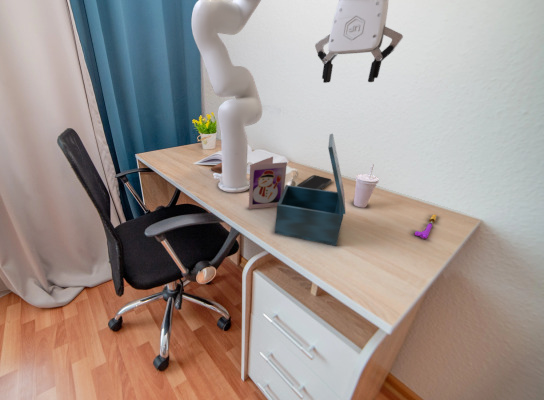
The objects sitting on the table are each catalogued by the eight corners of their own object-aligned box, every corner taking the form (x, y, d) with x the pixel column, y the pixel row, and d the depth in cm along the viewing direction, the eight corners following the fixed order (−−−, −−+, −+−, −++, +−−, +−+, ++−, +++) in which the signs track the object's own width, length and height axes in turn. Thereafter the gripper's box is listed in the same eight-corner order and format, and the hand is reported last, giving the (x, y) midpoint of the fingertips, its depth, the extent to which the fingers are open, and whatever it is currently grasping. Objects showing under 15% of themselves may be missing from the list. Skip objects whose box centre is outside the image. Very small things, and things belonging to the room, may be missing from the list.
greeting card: (249, 210, 77) (251, 165, 70) (244, 199, 84) (245, 158, 77) (283, 206, 79) (288, 163, 72) (275, 196, 85) (279, 155, 78)
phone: (296, 185, 90) (313, 174, 100) (295, 188, 91) (313, 177, 100) (316, 191, 85) (332, 179, 95) (315, 194, 86) (332, 181, 96)
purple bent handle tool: (426, 240, 61) (437, 217, 71) (427, 235, 61) (437, 213, 71) (413, 237, 63) (425, 215, 73) (414, 233, 63) (426, 212, 73)
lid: (328, 147, 51) (332, 146, 51) (329, 134, 62) (332, 133, 62) (341, 214, 56) (345, 214, 56) (341, 191, 68) (344, 190, 67)
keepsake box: (274, 233, 66) (277, 205, 62) (283, 209, 77) (286, 184, 73) (336, 246, 61) (343, 216, 56) (336, 219, 72) (342, 192, 68)
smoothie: (373, 210, 76) (386, 168, 69) (351, 208, 77) (362, 167, 70) (367, 201, 81) (378, 161, 75) (347, 199, 82) (356, 160, 76)
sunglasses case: (233, 159, 122) (239, 149, 118) (243, 168, 121) (249, 158, 116) (209, 169, 110) (214, 158, 106) (219, 179, 109) (225, 169, 104)
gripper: (315, -7, 51) (305, 83, 59) (416, -29, 41) (388, 82, 49) (327, 0, 56) (316, 82, 64) (419, -18, 46) (393, 81, 54)
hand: (347, 82), depth 56 cm, fingers open, 9 cm apart
